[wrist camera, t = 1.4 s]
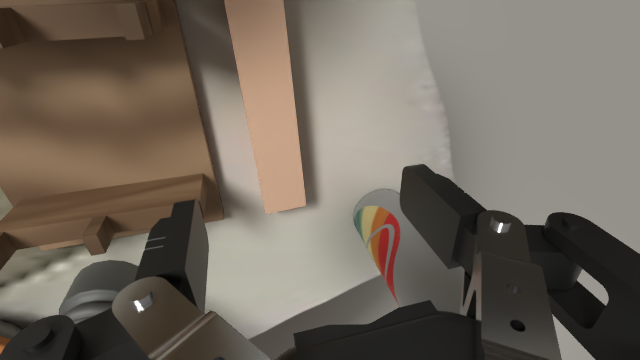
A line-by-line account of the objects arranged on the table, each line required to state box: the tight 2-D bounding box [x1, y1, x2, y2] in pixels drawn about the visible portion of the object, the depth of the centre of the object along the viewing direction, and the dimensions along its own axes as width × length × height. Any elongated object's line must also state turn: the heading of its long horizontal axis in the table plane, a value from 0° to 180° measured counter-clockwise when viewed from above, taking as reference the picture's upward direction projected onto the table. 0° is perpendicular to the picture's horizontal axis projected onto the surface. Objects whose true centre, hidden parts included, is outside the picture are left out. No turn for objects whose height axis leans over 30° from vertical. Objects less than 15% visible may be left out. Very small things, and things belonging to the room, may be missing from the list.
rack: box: [0, 0, 224, 270], centre depth 20 cm, size 20×14×7 cm
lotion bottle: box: [353, 189, 464, 314], centre depth 25 cm, size 6×6×20 cm
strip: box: [224, 0, 306, 214], centre depth 24 cm, size 18×4×3 cm, turn 4°
